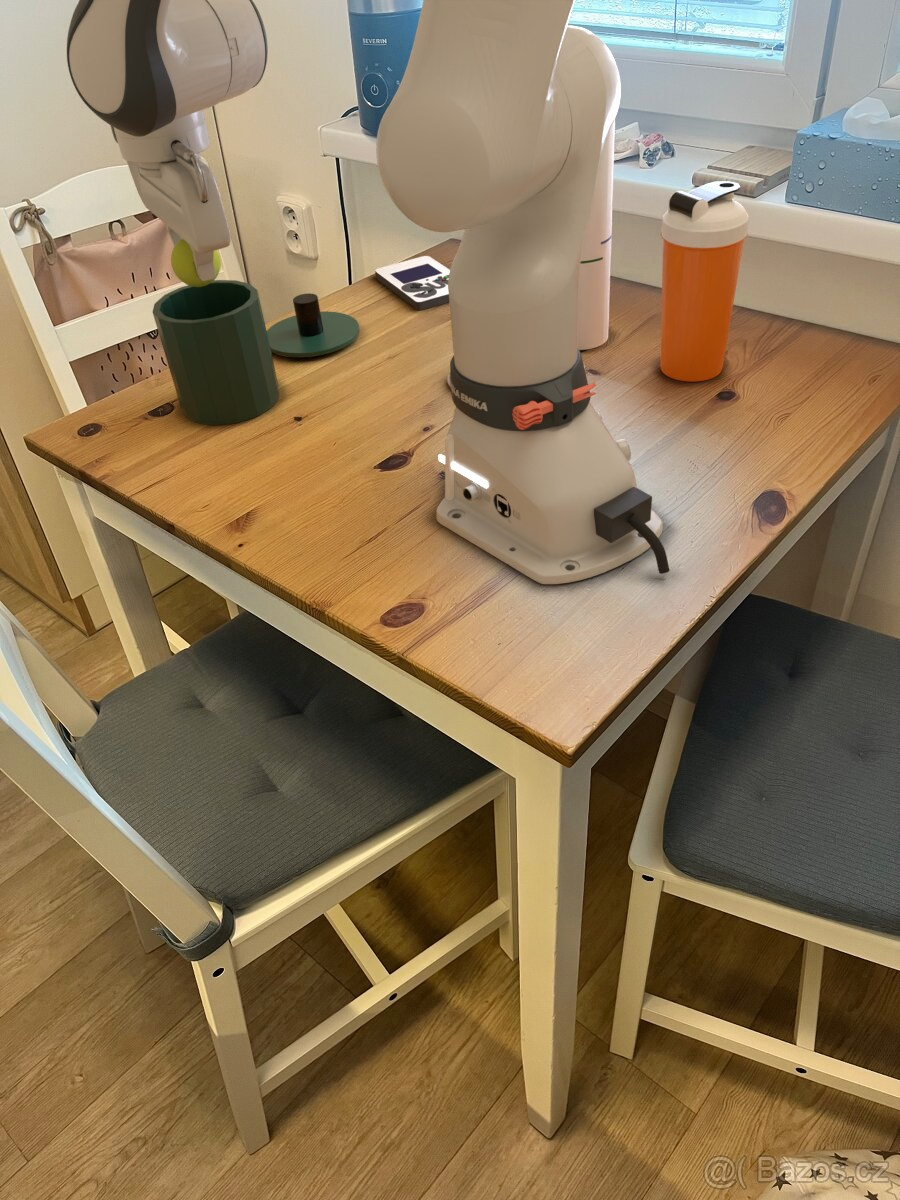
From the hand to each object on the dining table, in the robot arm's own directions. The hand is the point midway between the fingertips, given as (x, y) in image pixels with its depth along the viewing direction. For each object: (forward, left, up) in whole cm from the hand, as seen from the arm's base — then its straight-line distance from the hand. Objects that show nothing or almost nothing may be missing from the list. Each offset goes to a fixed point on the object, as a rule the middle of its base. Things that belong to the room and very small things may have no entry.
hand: (197, 269), depth 102 cm
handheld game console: (+15, -35, -16) cm, 41 cm away
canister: (0, 0, -16) cm, 16 cm away
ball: (0, 0, +1) cm, 1 cm away
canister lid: (+9, -15, -15) cm, 23 cm away
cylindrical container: (-13, -42, -16) cm, 47 cm away
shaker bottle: (-28, -47, -16) cm, 57 cm away
